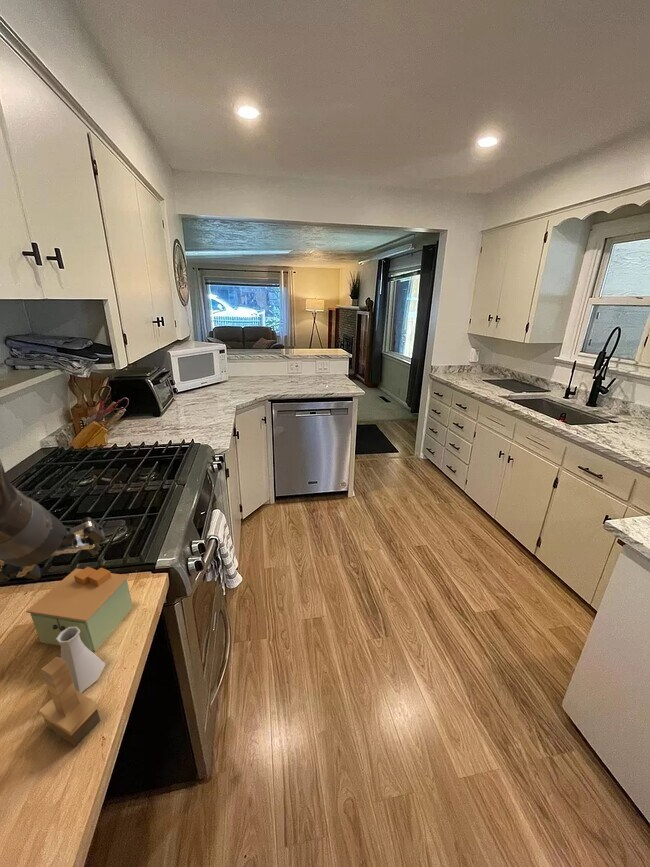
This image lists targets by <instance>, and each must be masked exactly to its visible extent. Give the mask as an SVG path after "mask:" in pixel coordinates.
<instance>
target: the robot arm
mask: <svg viewBox="0 0 650 867" xmlns="http://www.w3.org/2000/svg"><path fill="white" fill-rule="evenodd" d="M82 540H83V541H84V542H82ZM106 541H107V539H106V536H105V532H104V527H103V526H102V525H100V524H99V523H98V522H97V521H96V520H94V519H93V518H92V517H90V516H86V517H83V518H82V519H81V524H79V525H76V526H74V527H72V526H67V525H64V524H63V523H62V522H61V521H60V519H59V518H58V517H56V516H55V515H54V514H52V513H51V512H50V511H49V510H47V509H46V508H45V507H43V505H42V504H40V503H39V502H37V501H36V500H35V499H33V498H31V497H29V496H27V495H25V494H24V493H22V491H20V490H19V489H18V488H17V487H15V485H13V484H12V483H11V482H10V480H9V478H8V476H7V474H6V472H5V468H4V466H3V462H2V459H1V458H0V583H6V582H8V581H9V580H11V577H14V576H15V577H16V578H25V579H32V580H39V579H40V578H41V577H42V575H41V569H40V566H39V565H38V564H40V563H42V562H44V561H46V560H48V559H50V558H52V557H54V556H55V557H56V556H60V555H62V554H77V553H78V552H79V551H82V550H86V551H87V552H88V553H90V554H91V555H92V556H96V555H99V551H101V550H102V547H101V544H102V543H105V542H106ZM70 545H71V546H70Z"/></svg>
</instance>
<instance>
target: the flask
mask: <svg viewBox="0 0 650 867" xmlns="http://www.w3.org/2000/svg"><path fill="white" fill-rule="evenodd" d="M79 633H80V630H79V629H78V628H77V627H68V628H66V629H65V630H63V631H62V632H60V634H59V635H58V637H57V638H56V640H57V642H58V643H59V644H60V646H59V647H60V658H61V659H62V660H64V661H66V662H67V665H68V668H69V671H70V675H71V678H72V681H73V684H74V687H75V689H76V690H77V691H79V692H80V693H82V694H83V692H84V691H85V690H87V689H88V688H89V687H91V686H92V685H93V684H94V683H95V682H97V681H98V680H99V679H100V677H101V674H102V672H103V671H104V669H105V667H106V663H105V661H103V660H102V659H101V658H100V657H99V656H98V655H97V654H95V652H92V651H90V650H89V649H88V648H87V647H86V646H85V645H84V644H83V642H82V641H81V639H80V636H79Z"/></svg>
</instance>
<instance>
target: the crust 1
mask: <svg viewBox="0 0 650 867" xmlns="http://www.w3.org/2000/svg"><path fill="white" fill-rule="evenodd" d="M97 570H98V569H95V568H92V567H90V566H86V567H85V568H83V570H82V571H80V572H79V573H77V574H76V575H74V578H75V581H76V582H78V583H80V584H83V585H86V584H87V583H88V582H89V580H88V576H89V575H91V574H92V573H94V572H95V571H97Z"/></svg>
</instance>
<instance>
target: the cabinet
mask: <svg viewBox="0 0 650 867" xmlns="http://www.w3.org/2000/svg"><path fill="white" fill-rule="evenodd" d="M83 569H84V568H83ZM83 569H82V568H77V567H76V568H74V569H73V570H72V571H71V572H70V573H69V574H67V576H65V577H64V578H63V579H61V580H60V581H59V582H57V584H56V585H55V586H53V587H52V588H51V589H50V590H49V591H48V592H46V593H45V594H44V595H42V597H40V598H39V599H38V600H37V601H35V603H33V604H32V605H31V606H30V607H29V608H28V609H26V611H25V612H26V613H27V614H30V617H31V620H32V623H33V625H34V628H35V631H36V633H37V637H38V639H39V642H40V643H41V644H45V645H51V646H52V645H53V646H58V647H61V646H60V644H59V643H58V642H57V640H56V638H57V637H58V635H59V634H60V632H62V631H63V630H65V629H66V628H68V627H77V628H78V629H79V630H80V633H79V636H80V639H81V641H82V642H83V644H84V645H85V646H86V647H87V648H88V649H89V650H90V651H92V652H93V653H96V652H97V651H98V650H99V649H100V647H101V646H102V645H103V644H104V642H105V641H106V640H107V639H108V637H110V635H111V634H112V633H113V631H114V630H115V629H116V628H117V627H118V625H120V623H121V622H122V621H123V619H124V618H125V617H126V616H127V615H128V614H129V612H130V611H131V610H132V609H133V607H134V605H133V600H132V597H131V592H130V587H129V584H128V583H129V582H128V578H130V577H129V575H128V574H120V573H112V572H110V573H111V578H109V579H108V580H106V581H105V582H104V583H102V584H101V585H99V586H96V585H94V584H92V583H90V582H88V583H87V584H86V585H83V584H80V583H78V582H76V581H75V578H74V575H76V574H77V573H79V572H80V571H82V570H83Z"/></svg>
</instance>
